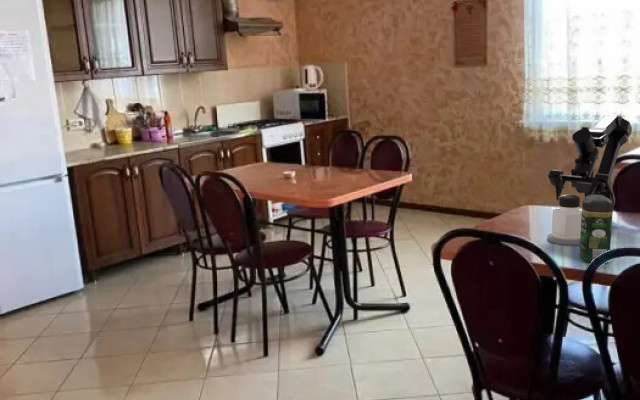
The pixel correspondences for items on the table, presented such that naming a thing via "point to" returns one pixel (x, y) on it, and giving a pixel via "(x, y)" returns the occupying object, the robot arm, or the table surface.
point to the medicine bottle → (567, 216)
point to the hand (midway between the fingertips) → (571, 201)
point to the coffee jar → (595, 226)
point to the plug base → (569, 243)
